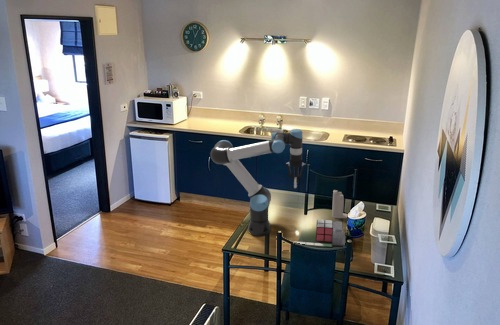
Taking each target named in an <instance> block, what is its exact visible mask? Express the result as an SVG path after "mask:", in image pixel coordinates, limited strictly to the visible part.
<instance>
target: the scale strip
mask: <svg viewBox="0 0 500 325" xmlns="http://www.w3.org/2000/svg"><path fill="white" fill-rule="evenodd" d="M294 242H297V243H300V244H299V245H302V244H305V245H304V246H315V247H317V246H318V247H329V248H330V247H331V248H332V247H333V245H332V243H319V242H307V241H296V240H294V241H293V243H294Z"/></svg>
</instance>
